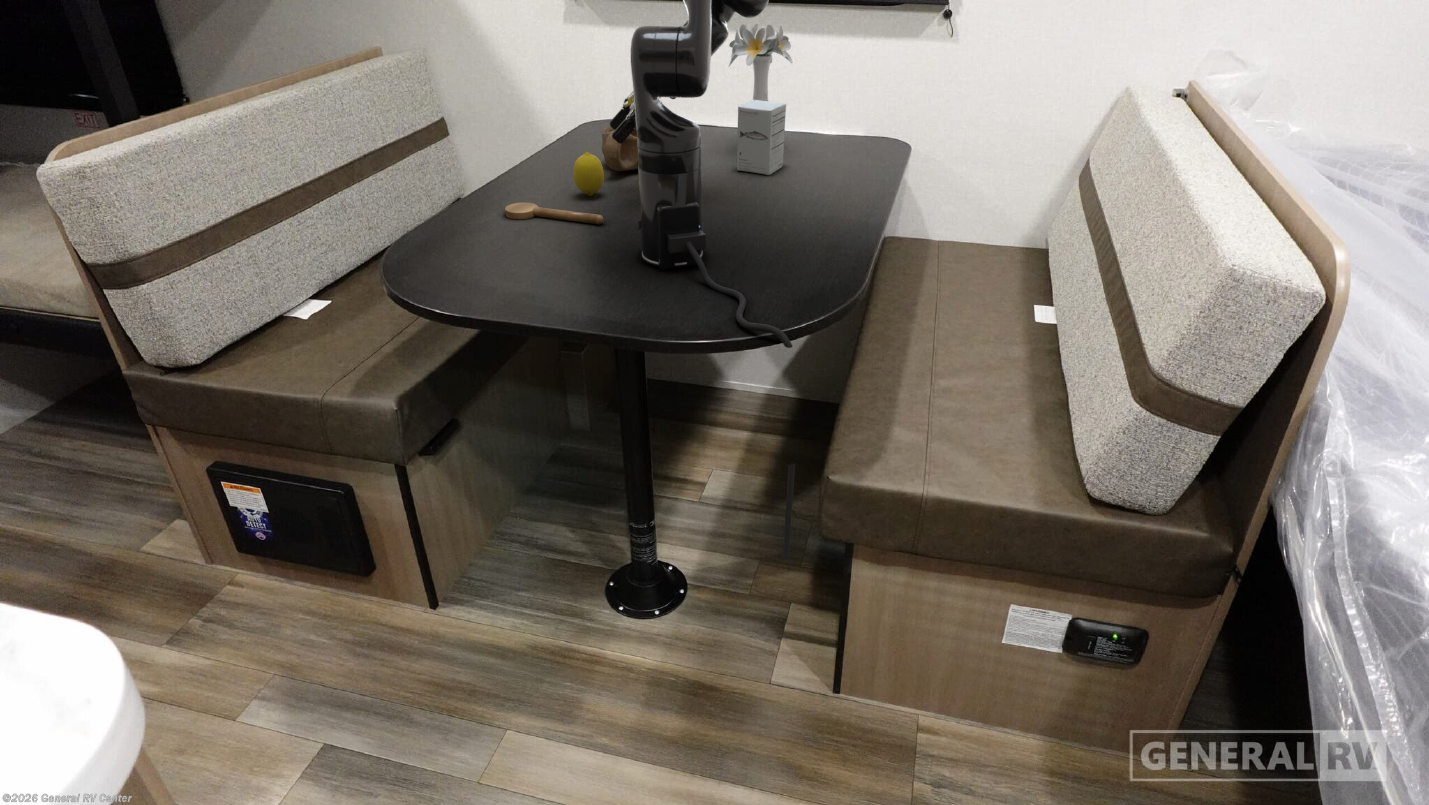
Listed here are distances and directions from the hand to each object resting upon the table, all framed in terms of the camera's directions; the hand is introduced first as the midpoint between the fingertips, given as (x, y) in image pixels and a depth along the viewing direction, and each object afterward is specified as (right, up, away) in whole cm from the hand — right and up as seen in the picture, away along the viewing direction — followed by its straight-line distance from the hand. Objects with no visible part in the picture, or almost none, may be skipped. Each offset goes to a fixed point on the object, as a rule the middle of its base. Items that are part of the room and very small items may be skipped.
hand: (614, 133), depth 157 cm
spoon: (-10, -16, -5) cm, 20 cm away
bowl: (+2, -1, +20) cm, 21 cm away
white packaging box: (+27, -1, +20) cm, 34 cm away
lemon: (-5, -10, +5) cm, 12 cm away
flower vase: (+27, +7, +33) cm, 44 cm away
